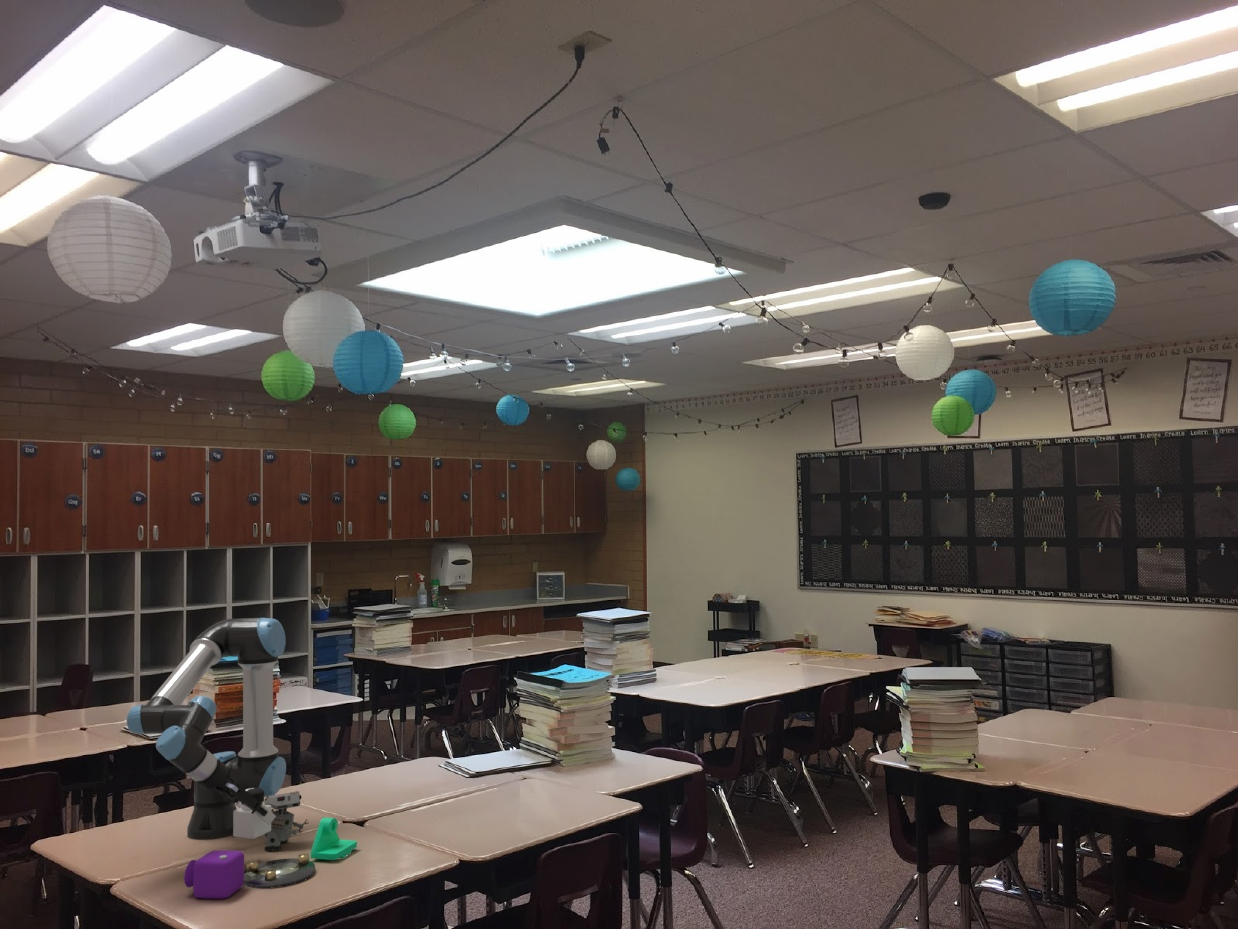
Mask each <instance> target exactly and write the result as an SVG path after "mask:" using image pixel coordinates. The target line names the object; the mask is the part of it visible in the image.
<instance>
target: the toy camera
mask: <svg viewBox="0 0 1238 929" xmlns="http://www.w3.org/2000/svg"><path fill="white" fill-rule="evenodd" d="M244 871H245V854H244V852H243V851H241V850H212V851H210V852H208V853H206V854H204V855H203V856H202V857H200V858H198V859H197V860H196V859H192V860H190V861H189V863H188V864H187V866H186V867H185V871H184V875H183V881H184V882H183V883H184V885H185V886H186V888H192V887H193V888H192V889H193V891H192V892H193V896H194V898H197V899H211V900H212V899H215V900H217V899H220V900H222V899H227V898H229V897H231V896H232V895H233V894H234V893H236V892H237V891H239V890H240V889H241V888H242V887H243V885H244V883H243V882H244Z"/></svg>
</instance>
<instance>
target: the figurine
mask: <svg viewBox="0 0 1238 929" xmlns="http://www.w3.org/2000/svg"><path fill="white" fill-rule="evenodd" d="M301 799H302V795H301V794H300V790H299V791H298V790H296V791H293V792H292V791H291V792H286V793H281V794H280V793H279V794H275V795H273V796H267V797H264V804H263V805H271V812H272V813H273V814H274V815H275V816H276V817H275V818H274V820H273V821H272V822H271V831H270V832H268V833H266V834H263V835H262V838H264V839H265V846H264V850H263V851H266V852H272V851H273V852H279V851H280V850H281V849H282V848H281V847H282V846H281V844H284V843H285V844H286V843H288V842H289V839H290V838H291V835H293V836H295V835H296V834H297V833H300V834H301V833H302V832H303V830H302V829H303V828H304V826H305V825H308V824H309V820H308V819H305V821H304V822H303V823H298V822H297V821H294V818H295V814H294V813H292V812H290V811H287V809H290V808H297V807H300V806H301ZM293 827H294V829H292V828H293ZM296 827H297V828H298V829H295V828H296Z"/></svg>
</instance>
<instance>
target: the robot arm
mask: <svg viewBox="0 0 1238 929" xmlns="http://www.w3.org/2000/svg"><path fill="white" fill-rule="evenodd" d="M286 638H287V637H286V633H285V629H284V628H283V625H282V623H281V622H280V621H279V620H278V619H276V618H267V617H253V618H252V617H247V618H226V619H222V620H221V621H218V622H215V623H214V624H213V625H211V626H209V627H208V628H207V629H205V630H204V631H203V632H201V633H200V634H199V635H198V636H197V637H195V639H194V640H193V641H192V643H191V644H190V646H189V652H188V653H187V654H186V655H185V657H184V658H183V659H182V660H181V661H180V663H179V664H178V665H177V666H176V667H175V669H174V670H173V671H172V672H171V674H170V675H169V676H168V677H167V679H165V681H164V682H163V683H162V684H161V686H160V687H159V688H158V689H157V691H156V692H155V693H154V694H153V695H152V697H151V698H150V700H148V702H147V703H145V704H139V705H134V706H132V707H131V708H130V709H129V711H128V713H127V715H126V716H127V717H126V725H127V726H126V727H127V729H128V731H129V732H131V733H133V734H141V735H154V734H155V735H156V734H157V735H160V736H159V737H158V738H157V739H156V743H155V749H156V750H157V751H158V753H159V754H161V755H162V757H163V758H164V759H166V760H167V761H169V762H170V763H171V764H173V766H175V767H177V768H178V769H179V770H181V771H182V772H183V773H185V774H186V779H187V780H190V779H192V781H193V782H194V784H193V789H194V790H193V810H192V814H191V816H190V819H189V822H188V826H187V829H186V830H187V831H186V832H187V833H186V834H187V837H188V838H190V839H194V838H196V840H210V839H212V840H213V839H218V838H224V837H228V836H231V835H233V811H234V810H236V809H239V808H241V803H243V804H244V805H246V806H247V807H248V808H250V809H251V810H252V812H251V813H252V814H253V813H255V814H256V815H257V816H258V817H260V818H261V819H262V820H263V821H265V822H266V823H267V824H268V825H270V824H271V822H272V821H273V820H274V818H275V817H276V816H275V815H274V814H273V813H272V812H270V811H269V810H268V809H267V808H266V807H264V806H263V805H264V804H263V805H262V802H261V801H259V800H257V799H256V798H255V797H254V796H252V795H251V794H250V793H248V792H247V791H246V789H250V788H260V789H263V790H264V798H266V797H267V796H273V795H277V793H278V792H279V791H280V790H281V787H282V786H283V784H284V781H285V777H286V772H287V762H286V760H285V758H284V757H282V756H279V748H277V747H276V746H275V745H274V666H275V665H276V664H277V663H278V662H279V657H281V656H282V655H284V654H283V653H284V652H285V649H286V648H285V647H286V641H287V640H286ZM229 657H230V658H231V657H233V658H237V665H238V666H240V667H241V668H242V670H243V671H242V672H243V673H242V676H243V677H242V693H243V694H242V701H243V703H242V706H243V707H242V708H243V710H242V715H243V716H242V719H243V720H242V722H243V723H242V725H243V726H242V728H243V729H242V730H243V732H242V740H243V741H242V748H241V749H240V751H239V752H238V753H237V754H236V752H235V751H233V750H231V751H221V752H217V753H213V754H212V752H210V751H209V749H207V748H206V747H205V746H203V745H202V744H201V743H202V741H203V739H204V737H205V735H206V734H207V731H208V729H209V727H210V726H211V724H212V722H213V721H214V720H213V719H214V717H215V714H216V713H217V704H216V702H215V701H214V700H213V699H211V698H210V697H208V696H206V695H205V696H204V695H196V696H195V697H192V698H190V700H189V701H188V703H187V704H183V703H184V702H185V700H186V699H187V698H188V697H189V695H190V694H191V692H192V691H193V690H194V688H195V687H196V686H197V685H198V684H199V682H200V681H201V679H203V677H204V676H205V675H206V673H207V672H208V670H209V669H210V668H211V667H212V666H214V665H217V664H218V663H219V662H220V661H221V660H222V659H225V658H229ZM237 807H238V808H237Z"/></svg>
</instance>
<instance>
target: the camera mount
mask: <svg viewBox="0 0 1238 929" xmlns="http://www.w3.org/2000/svg"><path fill="white" fill-rule="evenodd" d="M318 824H319V825H318V827H317V830H316V834H315V837H314V841H313V843H312V847H311V851H310V859H317V860H329V861H334V860H335V861H336V860H339V859H338V858H344V857H345V856H346V855H349V854H350V853H351V852H352V851H353V850H355V849H357V847H358V841H357V840H351V839H340V838H339V835H338V833H337V829H338V826H339V825H338V819H337V818H335V817H322V818H321V820H320V821H319V823H318ZM350 855H351V854H350ZM350 855H349V856H350ZM345 858H346V857H345ZM345 858H344V859H345Z"/></svg>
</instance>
